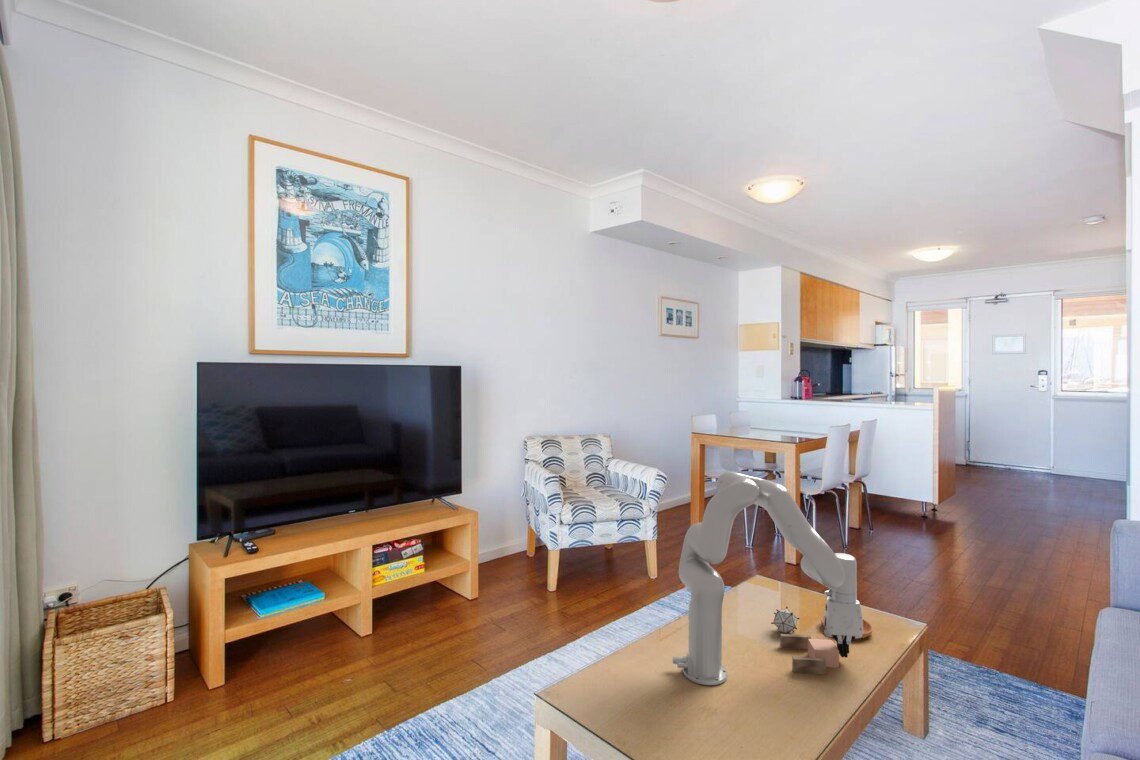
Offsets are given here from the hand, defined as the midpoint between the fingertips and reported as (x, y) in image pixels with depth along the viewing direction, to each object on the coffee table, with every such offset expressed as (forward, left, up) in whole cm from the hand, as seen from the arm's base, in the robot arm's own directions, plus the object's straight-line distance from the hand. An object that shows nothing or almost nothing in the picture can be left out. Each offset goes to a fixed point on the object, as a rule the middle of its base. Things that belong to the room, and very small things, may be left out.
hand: (842, 655), depth 170 cm
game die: (-12, +18, -2) cm, 22 cm away
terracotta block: (-6, 0, -2) cm, 6 cm away
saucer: (+9, +22, -3) cm, 24 cm away
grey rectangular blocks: (-12, 0, -2) cm, 12 cm away
